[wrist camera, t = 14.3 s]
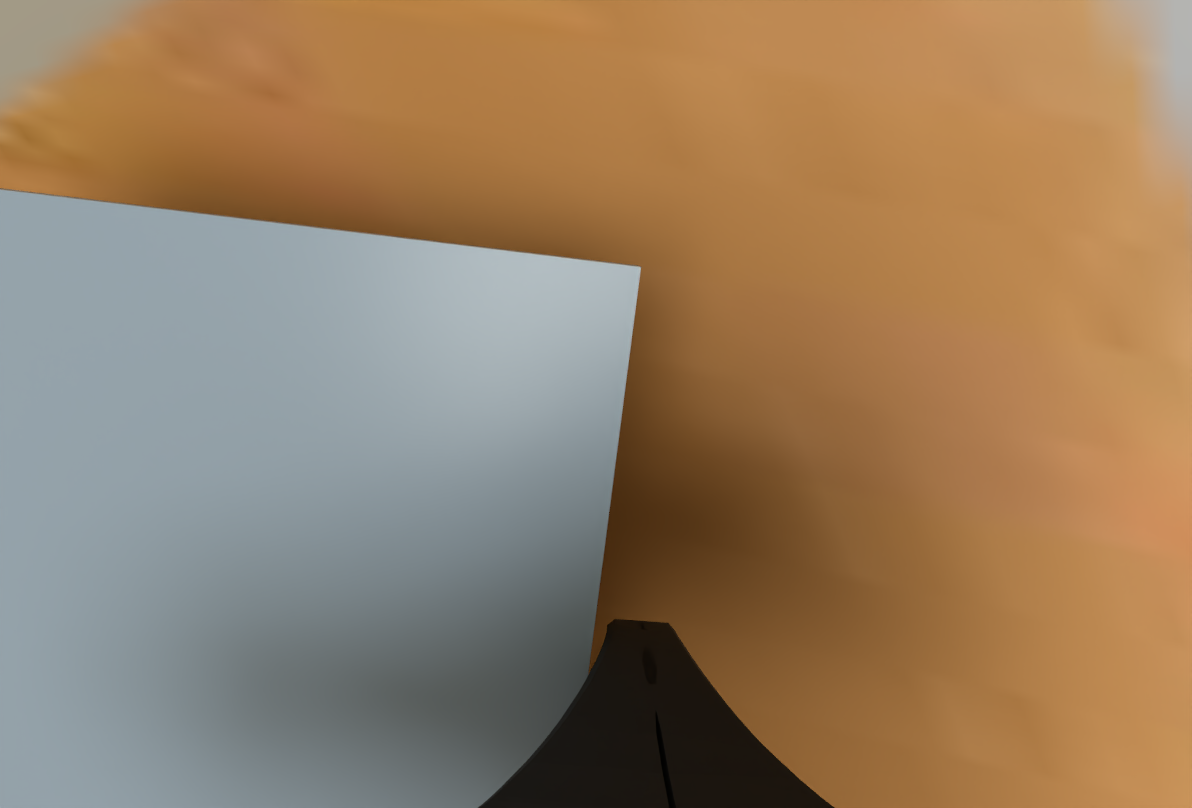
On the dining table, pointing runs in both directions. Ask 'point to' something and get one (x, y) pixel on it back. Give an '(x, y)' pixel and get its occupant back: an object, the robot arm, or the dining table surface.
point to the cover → (293, 507)
